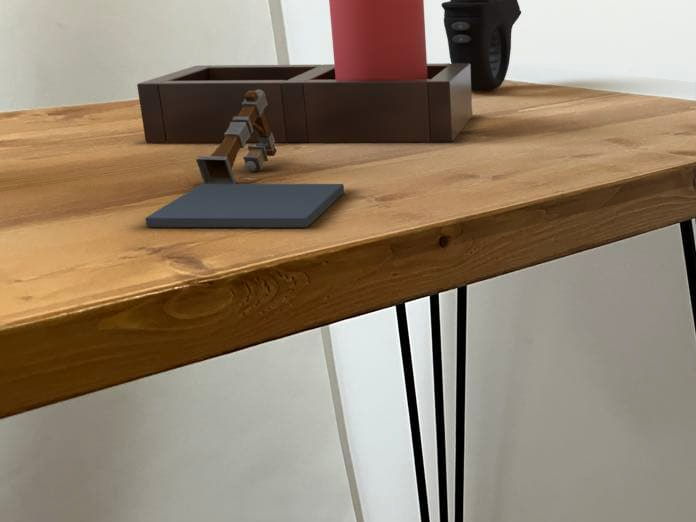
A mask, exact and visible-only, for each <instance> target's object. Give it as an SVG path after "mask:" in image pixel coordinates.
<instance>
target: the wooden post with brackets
mask: <svg viewBox="0 0 696 522" xmlns="http://www.w3.org/2000/svg"><path fill="white" fill-rule="evenodd" d="M267 105H268V104H267V101H266V98H265V93H264V91H262V90H256V91H248V92H247V93H246V95H245V100H244V102H242V106H243V108H242V110H241V112H240V113H239V115H238V117H234V118H233V119H232V121H233V122H230V126H229V128H228V130H227V131H226V132H225V133H224V136H225V139H224V140H223V142H222V143H219V144H220V145H218V146H217V147H216V148H215V150H214V151H213V152H212V153H211V154H210V155H199V156H198V158H195V162H196V164H197V167H198V170H199V173H200V176H201V178H202V181H203V184H236V182H237V180H236V178H235V175H234V172H233V169H234V165H235V162H236V159H237V156H238V153H239V152H240V150H241V149H245V145H246V141H247V140H248V138H250V137H251V136H250V134H252V132H253V129H255V130H256V131H257V132H258V135H259V136H258V140H259V142H258V143H257V144H255V145H247V149H248V152H247V154H246V155H244V156H243V157H242V158H243V161H244V164H245V169H246V171H248V172H251V173H252V172H254V171H263V164H264V163H265V162H269V157H275V155H276V153H277V152H278V150H277V148H276V144H275V143H276V142H275V140H274V137H273V134H272V132H270V130H269V127H268V124H267V121H266V118H265V115H264V112H263V110H264V108H265V107H266V106H267Z"/></svg>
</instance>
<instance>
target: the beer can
mask: <svg viewBox="0 0 696 522" xmlns="http://www.w3.org/2000/svg"><path fill="white" fill-rule="evenodd" d="M424 2H425V1H424V0H328V3H329V4H328V5H329V15H330V26H331V39H332V40H331V41H332V50H333V51H332V52H333V61H334V62H333V64H334V65H335V77H336V80H361V79H428V76H427V64H428V60H427V59H428V58H427V40H426V23H425V3H424Z"/></svg>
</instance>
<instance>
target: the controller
mask: <svg viewBox="0 0 696 522" xmlns="http://www.w3.org/2000/svg"><path fill="white" fill-rule="evenodd" d="M519 4H520V3H519V1H518V0H449V1H445V2H441V5H440V6H441V8H442V9H443V11H444V13H443V25H444V31H445V35H446V39H447V45H448V46H447V47H448V53H449V59H450V64H452V63H470V70H471V92H482V93H483V92H486V93H487V92H493V91H495V90H497V89H498V88H500V87H501V86H502V84H503V83H504V81H505V79H506V76H507V73H508V70H509V66H510V59H511V58H510V57H511V53H512V31H513V26H514V24H516V22H517V21H518V19H519V18H520V16H521V15H522V10H520V9H521V7H520V5H519Z"/></svg>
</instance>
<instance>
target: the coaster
mask: <svg viewBox="0 0 696 522" xmlns="http://www.w3.org/2000/svg"><path fill="white" fill-rule="evenodd" d="M344 193H345V184H344V183H235V184H205V183H201V184H199V185H197V186H196V187H194V188H192V189H190V190H189V191H188V192H186V193H184V194H183V195H181V196H179V197H178V198H176V199H174V200H173V201H170V202H169V203H168V204H166V205H164V206H163V207H161V208H159V209H158V210H156V211H155V212H153V213H151V214H149V215H147V216H145V225H146V228H259V229H261V228H266V229H267V228H271V229H272V228H285V229H286V228H291V229H292V228H293V229H294V228H295V229H297V228H302V229H303V228H304V229H305V228H308V227H309V226H310V225H312V224H313V223H314V221H316V220H317V219H318V218H319V217H320V216H321V215H322V214H323V213H324V212H325V211H327V209H328V208H330V207H331V206H332V204H334V203H335V202H336V201H337V200H338V199H339V198H340V197H342V196H343V194H344Z"/></svg>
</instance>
